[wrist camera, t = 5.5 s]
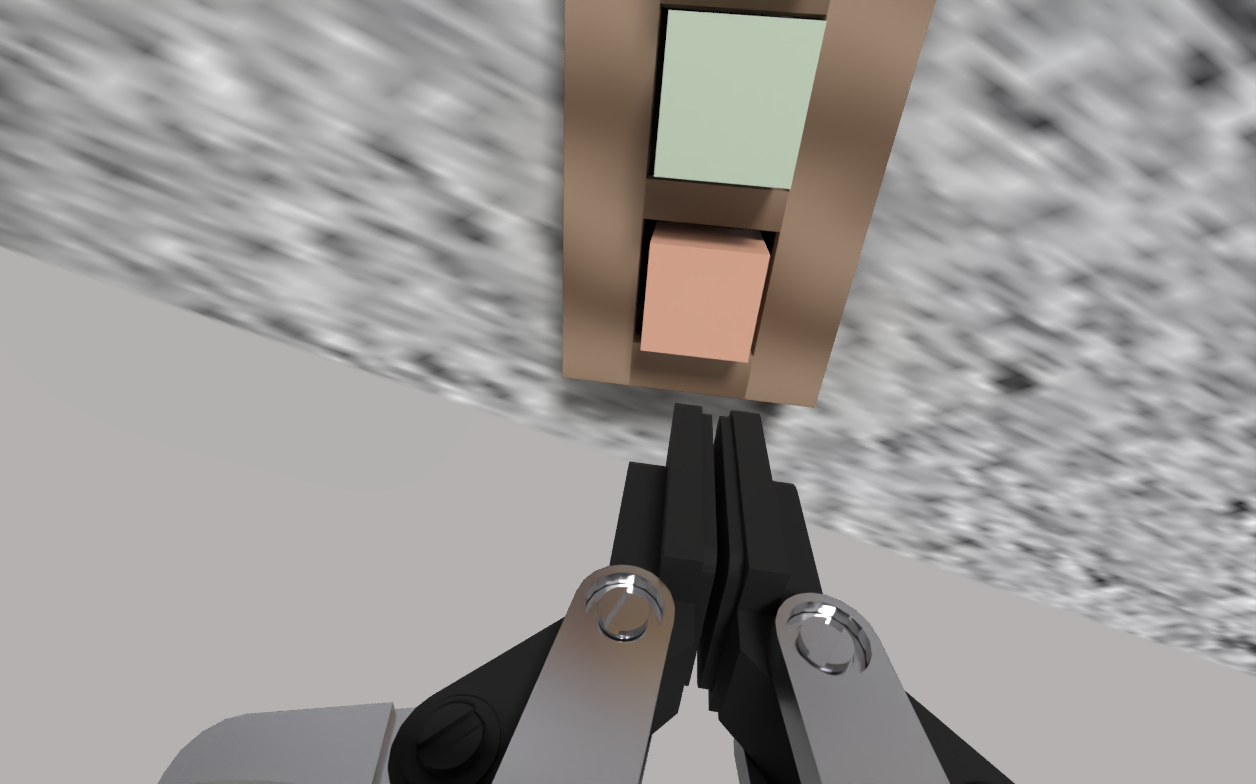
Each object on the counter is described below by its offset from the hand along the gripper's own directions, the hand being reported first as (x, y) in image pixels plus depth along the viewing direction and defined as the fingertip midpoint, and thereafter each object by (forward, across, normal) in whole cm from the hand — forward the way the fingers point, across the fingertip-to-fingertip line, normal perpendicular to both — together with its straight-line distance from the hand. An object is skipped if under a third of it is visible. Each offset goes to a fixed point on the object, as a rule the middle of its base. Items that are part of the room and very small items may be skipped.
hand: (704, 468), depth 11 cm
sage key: (+14, 0, -6) cm, 15 cm away
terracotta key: (+15, 0, +1) cm, 15 cm away
